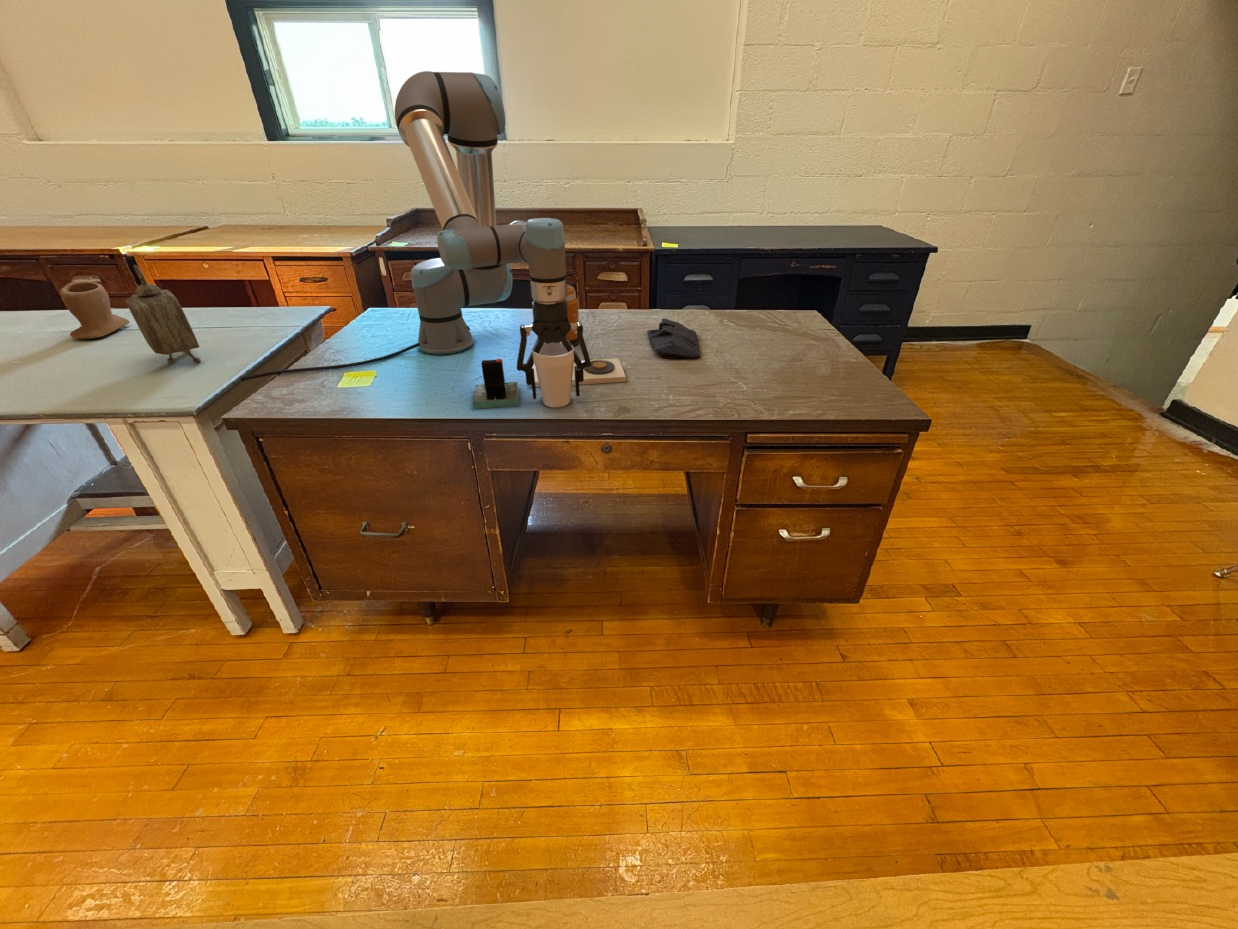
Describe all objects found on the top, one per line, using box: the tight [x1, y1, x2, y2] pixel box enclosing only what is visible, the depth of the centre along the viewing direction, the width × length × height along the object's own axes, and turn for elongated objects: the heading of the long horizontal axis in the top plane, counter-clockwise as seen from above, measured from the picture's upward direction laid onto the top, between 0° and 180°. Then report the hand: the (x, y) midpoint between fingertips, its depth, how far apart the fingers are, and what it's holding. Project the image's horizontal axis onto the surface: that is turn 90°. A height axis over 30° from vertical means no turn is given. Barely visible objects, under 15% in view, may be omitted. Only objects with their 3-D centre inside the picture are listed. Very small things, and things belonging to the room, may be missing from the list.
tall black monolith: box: [481, 358, 506, 393], centre depth 121 cm, size 5×2×8 cm, turn 99°
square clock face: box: [472, 381, 519, 410], centre depth 124 cm, size 10×9×2 cm
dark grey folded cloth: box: [646, 318, 701, 359], centre depth 152 cm, size 15×22×5 cm
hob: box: [529, 357, 627, 389], centre depth 135 cm, size 24×12×3 cm, turn 99°
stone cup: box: [59, 280, 131, 339], centre depth 155 cm, size 15×12×15 cm
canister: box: [566, 273, 580, 346], centre depth 148 cm, size 9×11×20 cm
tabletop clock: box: [125, 264, 202, 364], centre depth 135 cm, size 14×9×25 cm, turn 47°
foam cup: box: [531, 342, 575, 408], centre depth 120 cm, size 10×9×13 cm
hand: (556, 395), depth 123 cm, fingers closed on foam cup, 9 cm apart
